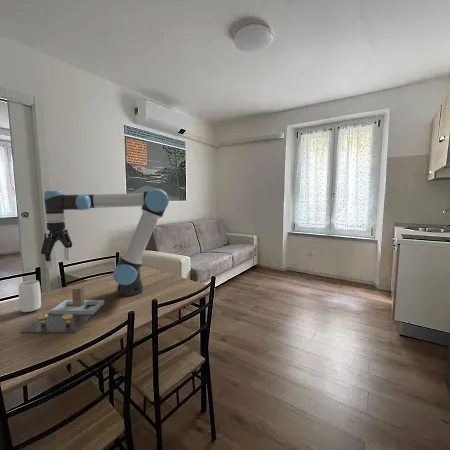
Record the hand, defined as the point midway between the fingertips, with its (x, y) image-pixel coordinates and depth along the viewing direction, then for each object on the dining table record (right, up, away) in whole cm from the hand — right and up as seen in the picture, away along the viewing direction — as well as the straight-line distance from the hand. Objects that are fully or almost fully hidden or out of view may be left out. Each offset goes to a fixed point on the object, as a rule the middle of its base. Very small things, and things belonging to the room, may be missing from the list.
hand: (59, 263), depth 124 cm
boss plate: (+10, -25, -15) cm, 31 cm away
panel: (+10, -23, 0) cm, 25 cm away
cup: (-12, -23, -3) cm, 26 cm away
